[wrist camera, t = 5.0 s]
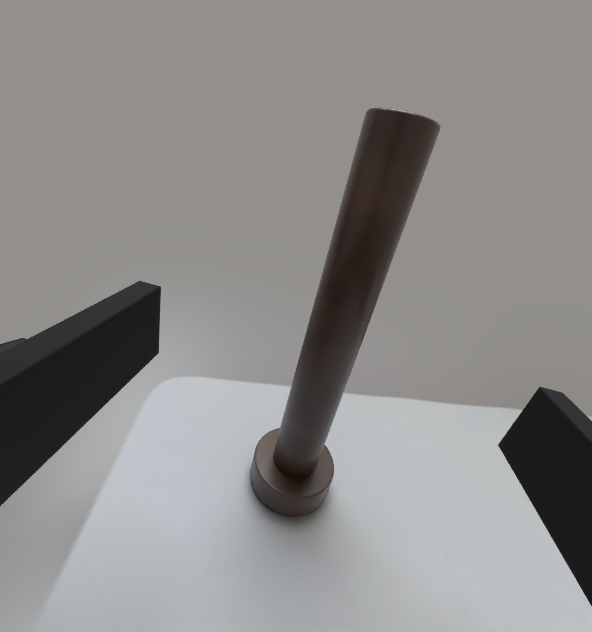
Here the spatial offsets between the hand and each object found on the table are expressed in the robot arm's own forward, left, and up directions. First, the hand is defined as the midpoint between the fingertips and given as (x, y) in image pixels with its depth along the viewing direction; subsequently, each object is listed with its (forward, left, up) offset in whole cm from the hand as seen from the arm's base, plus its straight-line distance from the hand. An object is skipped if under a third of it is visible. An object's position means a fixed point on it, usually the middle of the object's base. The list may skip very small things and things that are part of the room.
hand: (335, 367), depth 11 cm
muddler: (0, +3, -10) cm, 10 cm away
